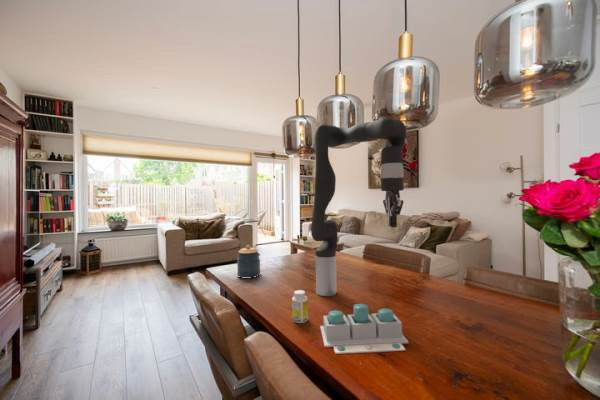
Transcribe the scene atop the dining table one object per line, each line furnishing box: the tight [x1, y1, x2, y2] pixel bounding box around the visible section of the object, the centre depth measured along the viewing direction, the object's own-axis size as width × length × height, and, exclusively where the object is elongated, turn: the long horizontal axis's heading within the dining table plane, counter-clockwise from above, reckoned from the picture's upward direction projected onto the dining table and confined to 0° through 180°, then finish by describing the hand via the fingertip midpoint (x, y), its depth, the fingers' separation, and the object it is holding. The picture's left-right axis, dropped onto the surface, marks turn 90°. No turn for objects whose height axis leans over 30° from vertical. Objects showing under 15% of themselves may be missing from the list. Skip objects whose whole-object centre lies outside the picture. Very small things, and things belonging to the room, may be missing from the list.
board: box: [319, 312, 409, 348], centre depth 86 cm, size 12×25×5 cm, turn 92°
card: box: [332, 343, 406, 355], centre depth 78 cm, size 3×20×1 cm, turn 92°
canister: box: [236, 244, 261, 277], centre depth 154 cm, size 13×13×18 cm
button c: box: [377, 308, 395, 322], centre depth 86 cm, size 5×5×6 cm
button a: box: [328, 310, 344, 325], centre depth 86 cm, size 5×5×6 cm
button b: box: [353, 303, 369, 323], centre depth 86 cm, size 5×5×6 cm
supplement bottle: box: [291, 289, 309, 324], centre depth 97 cm, size 6×6×10 cm
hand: (393, 227), depth 94 cm, fingers closed
